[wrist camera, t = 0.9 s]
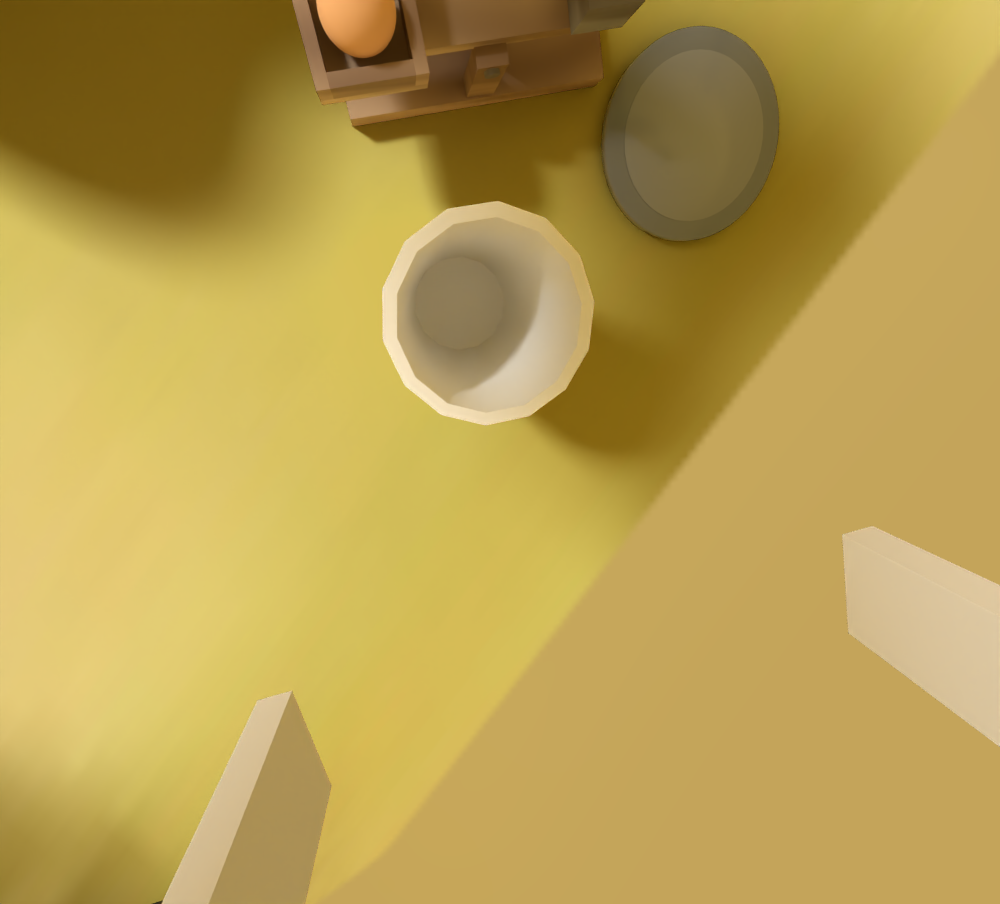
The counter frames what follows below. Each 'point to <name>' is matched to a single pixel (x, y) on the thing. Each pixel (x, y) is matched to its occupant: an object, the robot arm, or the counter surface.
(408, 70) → the catapult
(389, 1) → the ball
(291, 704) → the robot arm
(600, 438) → the counter surface
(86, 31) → the counter surface
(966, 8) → the counter surface
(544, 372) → the foam cup
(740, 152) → the coaster
